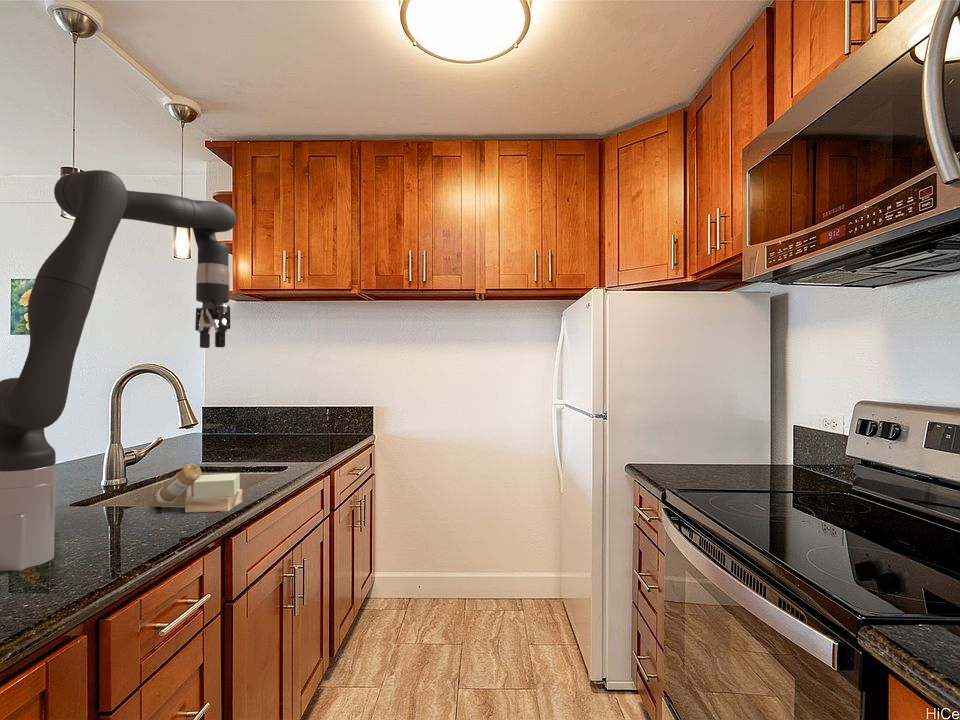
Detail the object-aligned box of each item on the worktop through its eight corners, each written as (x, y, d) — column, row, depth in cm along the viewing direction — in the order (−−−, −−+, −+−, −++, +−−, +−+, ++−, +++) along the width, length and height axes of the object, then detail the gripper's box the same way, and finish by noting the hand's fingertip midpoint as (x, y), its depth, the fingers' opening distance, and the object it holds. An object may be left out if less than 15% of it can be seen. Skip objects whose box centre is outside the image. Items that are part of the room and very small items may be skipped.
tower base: (228, 514, 134) (228, 498, 134) (185, 515, 134) (185, 498, 134) (242, 504, 144) (242, 489, 144) (202, 504, 144) (202, 489, 144)
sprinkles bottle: (185, 460, 137) (157, 487, 142) (183, 476, 134) (154, 502, 139) (203, 466, 140) (175, 492, 145) (201, 481, 137) (172, 507, 142)
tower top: (233, 496, 136) (234, 480, 136) (193, 498, 134) (193, 482, 134) (239, 488, 145) (239, 473, 145) (201, 490, 142) (201, 474, 142)
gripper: (241, 282, 138) (240, 347, 138) (215, 287, 147) (214, 348, 147) (210, 278, 132) (209, 346, 132) (185, 284, 142) (184, 347, 141)
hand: (212, 347), depth 140 cm, fingers open, 8 cm apart
